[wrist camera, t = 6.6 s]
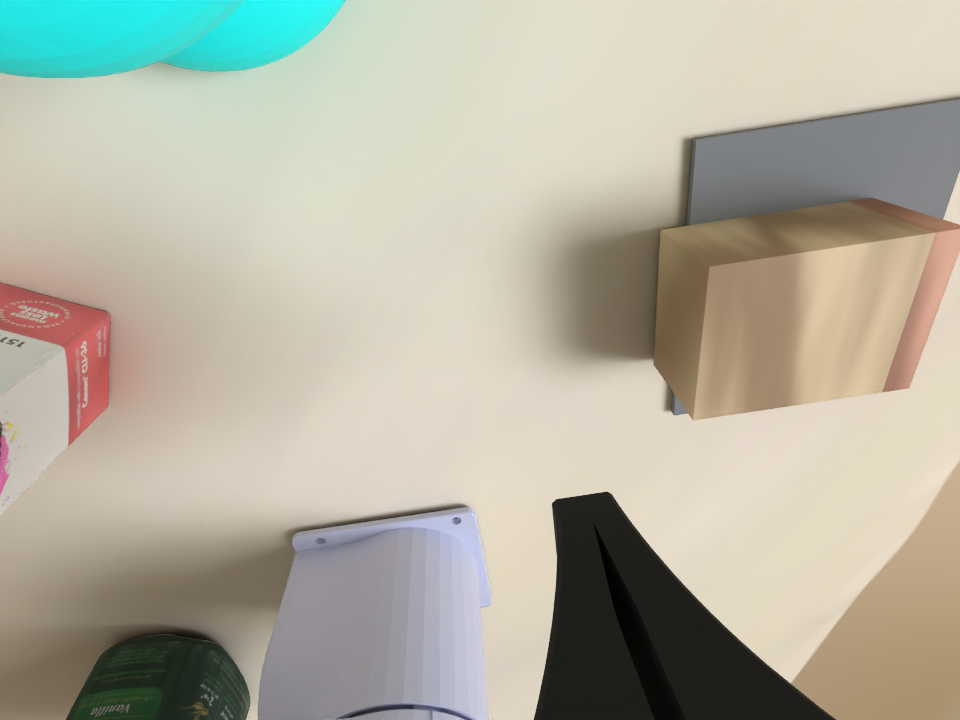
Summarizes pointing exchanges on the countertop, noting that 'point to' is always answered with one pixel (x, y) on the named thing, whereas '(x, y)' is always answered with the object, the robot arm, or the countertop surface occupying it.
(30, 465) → the ink cartridge box
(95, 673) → the coffee jar
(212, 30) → the donuts
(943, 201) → the rubber mat
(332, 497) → the countertop surface
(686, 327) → the oak block
